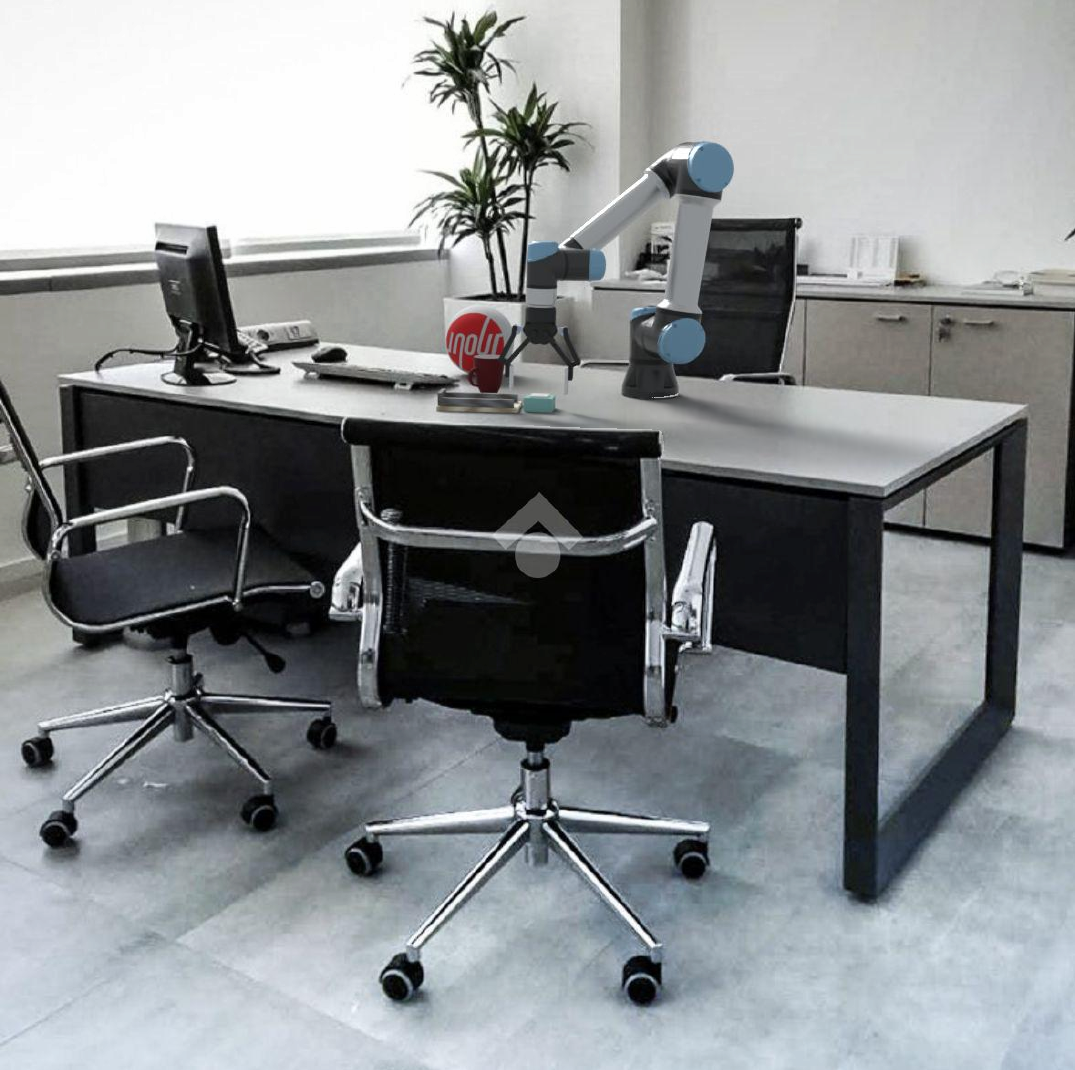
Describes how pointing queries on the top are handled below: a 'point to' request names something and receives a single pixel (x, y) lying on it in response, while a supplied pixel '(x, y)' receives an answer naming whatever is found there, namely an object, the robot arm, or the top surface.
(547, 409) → the block
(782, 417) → the top surface
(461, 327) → the decorative sphere
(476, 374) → the mug
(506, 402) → the rail mount
